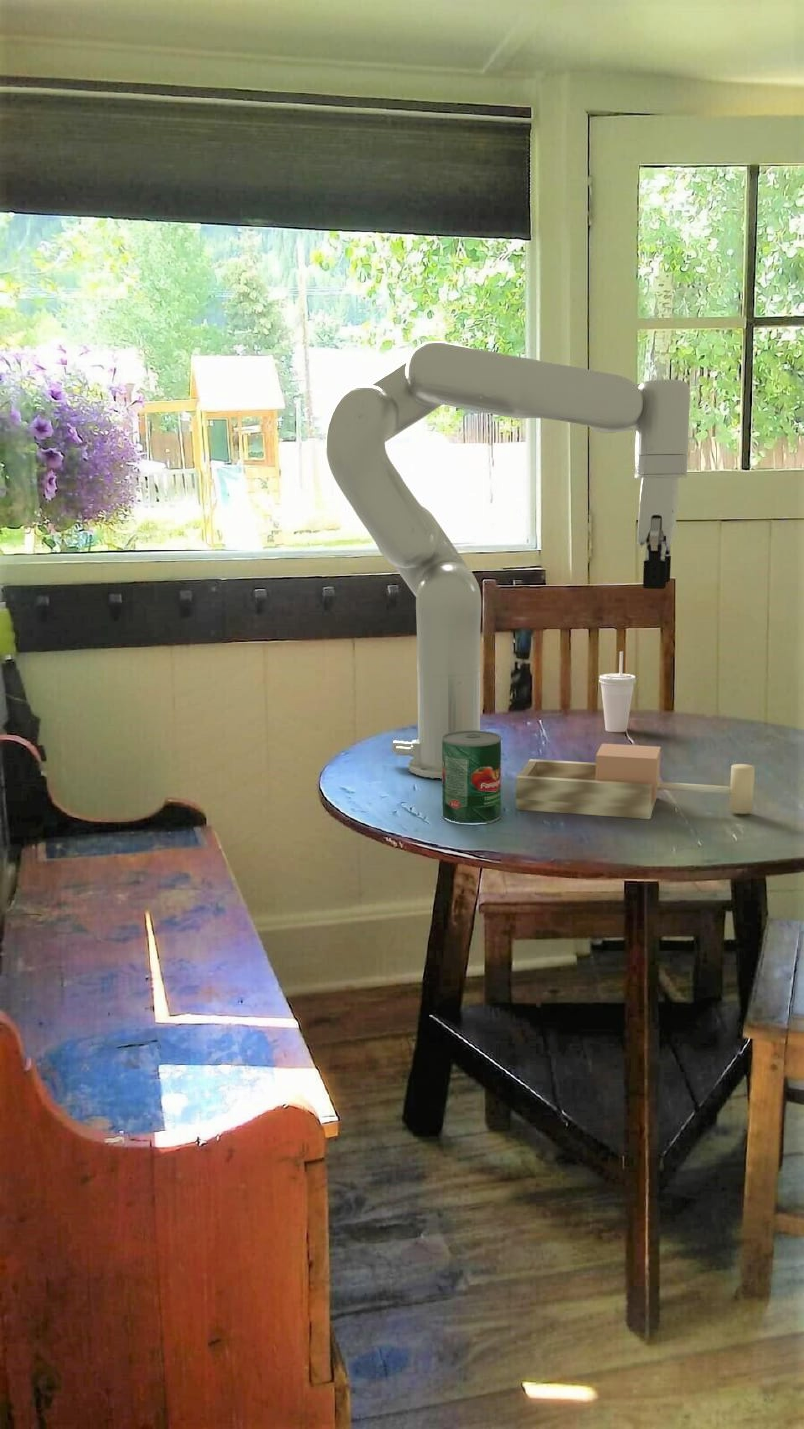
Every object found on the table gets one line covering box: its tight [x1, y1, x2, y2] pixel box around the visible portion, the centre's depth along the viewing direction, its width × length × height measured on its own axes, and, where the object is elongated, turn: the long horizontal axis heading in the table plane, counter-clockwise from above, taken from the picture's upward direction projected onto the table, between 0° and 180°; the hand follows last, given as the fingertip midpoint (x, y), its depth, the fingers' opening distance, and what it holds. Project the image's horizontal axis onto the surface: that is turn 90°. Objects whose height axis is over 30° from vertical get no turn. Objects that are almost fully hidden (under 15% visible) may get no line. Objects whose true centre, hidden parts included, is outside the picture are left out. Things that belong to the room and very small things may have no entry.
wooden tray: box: [515, 758, 656, 820], centre depth 159 cm, size 18×11×4 cm, turn 74°
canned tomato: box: [441, 730, 502, 824], centre depth 153 cm, size 8×8×11 cm
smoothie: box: [598, 651, 637, 733], centre depth 202 cm, size 6×6×14 cm
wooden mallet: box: [595, 743, 756, 815], centre depth 155 cm, size 20×7×7 cm, turn 74°
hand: (656, 585), depth 171 cm, fingers open, 9 cm apart
